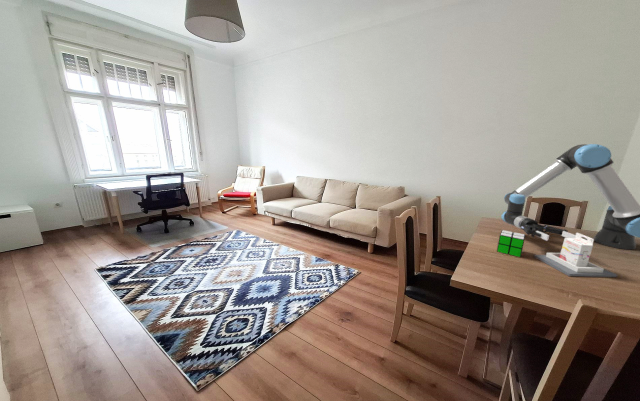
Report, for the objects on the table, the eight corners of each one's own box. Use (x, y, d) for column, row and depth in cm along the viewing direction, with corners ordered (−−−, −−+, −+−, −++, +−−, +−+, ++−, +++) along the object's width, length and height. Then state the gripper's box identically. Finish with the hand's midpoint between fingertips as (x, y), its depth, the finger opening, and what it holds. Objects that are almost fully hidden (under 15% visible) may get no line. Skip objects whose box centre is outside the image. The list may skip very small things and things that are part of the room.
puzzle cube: (521, 251, 125) (525, 234, 122) (520, 257, 117) (524, 239, 115) (498, 246, 131) (501, 229, 129) (496, 251, 124) (499, 234, 122)
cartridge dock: (573, 257, 117) (575, 251, 116) (616, 277, 100) (618, 270, 99) (533, 256, 118) (535, 251, 117) (569, 276, 101) (570, 269, 100)
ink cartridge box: (557, 259, 113) (565, 231, 110) (568, 259, 113) (576, 232, 109) (575, 268, 105) (583, 238, 101) (586, 268, 104) (595, 239, 101)
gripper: (546, 230, 135) (585, 245, 114) (503, 229, 136) (534, 244, 115) (549, 218, 133) (589, 231, 112) (505, 217, 134) (537, 230, 113)
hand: (562, 238), depth 114 cm, fingers open, 13 cm apart
